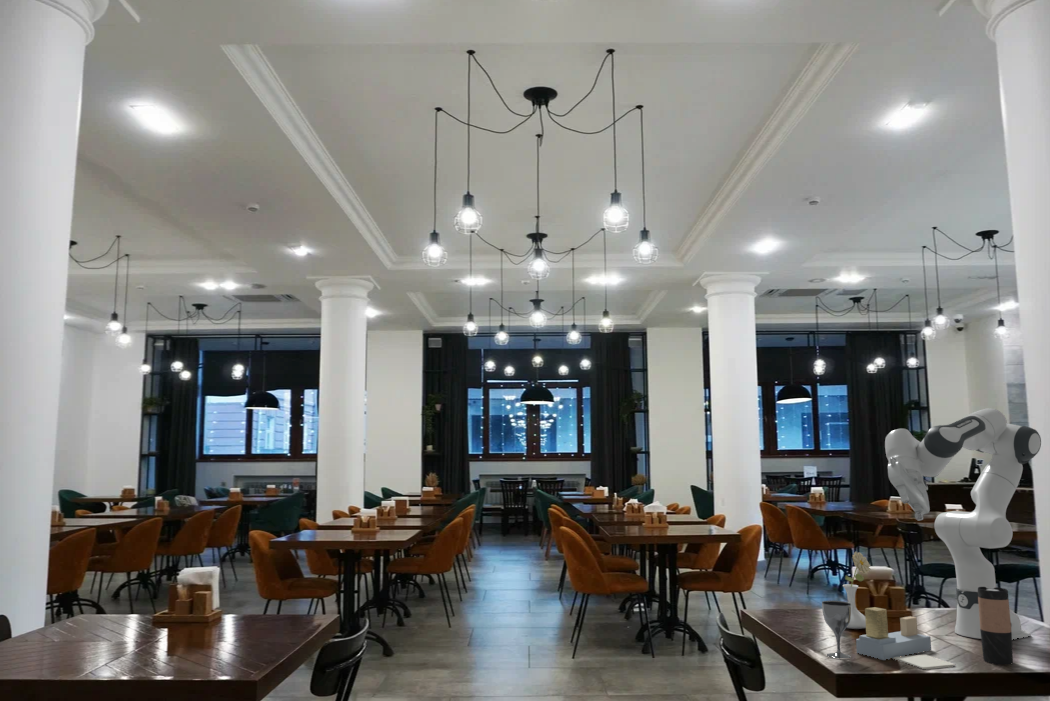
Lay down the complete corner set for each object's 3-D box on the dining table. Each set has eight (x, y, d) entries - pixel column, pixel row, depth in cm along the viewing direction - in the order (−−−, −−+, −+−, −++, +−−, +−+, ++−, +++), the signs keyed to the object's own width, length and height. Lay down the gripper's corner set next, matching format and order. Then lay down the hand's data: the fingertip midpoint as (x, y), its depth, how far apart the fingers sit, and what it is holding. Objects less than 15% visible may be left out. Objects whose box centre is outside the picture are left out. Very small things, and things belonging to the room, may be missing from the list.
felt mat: (924, 656, 226) (924, 654, 226) (955, 666, 215) (955, 664, 215) (893, 659, 223) (893, 657, 223) (923, 669, 212) (922, 667, 212)
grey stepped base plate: (903, 644, 240) (902, 613, 242) (931, 650, 233) (929, 619, 234) (856, 653, 230) (855, 621, 231) (883, 660, 222) (881, 627, 223)
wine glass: (820, 652, 230) (817, 600, 232) (847, 652, 230) (844, 600, 232) (830, 659, 222) (827, 605, 224) (858, 660, 222) (855, 605, 224)
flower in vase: (848, 632, 256) (844, 554, 259) (827, 624, 267) (823, 550, 270) (883, 630, 259) (878, 553, 263) (860, 622, 270) (856, 549, 274)
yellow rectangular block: (876, 638, 231) (874, 607, 232) (888, 641, 227) (886, 609, 229) (866, 640, 229) (864, 608, 230) (878, 643, 225) (876, 611, 226)
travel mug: (1001, 666, 215) (996, 591, 218) (976, 659, 222) (971, 587, 225) (1020, 663, 218) (1014, 589, 221) (994, 657, 225) (989, 585, 228)
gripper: (900, 450, 233) (907, 488, 223) (929, 488, 241) (938, 526, 232) (879, 457, 236) (885, 494, 227) (909, 494, 245) (916, 531, 235)
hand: (912, 510), depth 229 cm, fingers open, 8 cm apart
